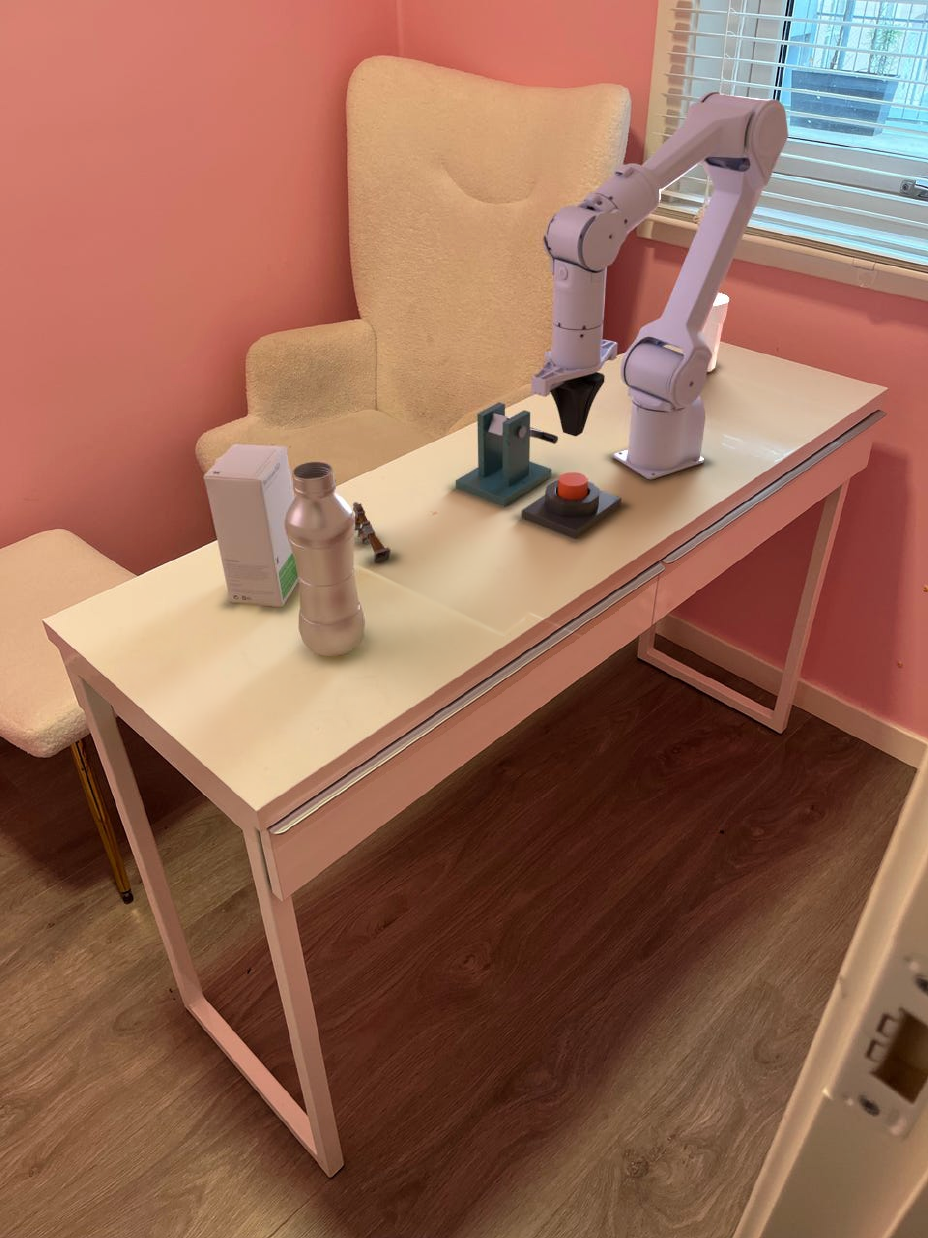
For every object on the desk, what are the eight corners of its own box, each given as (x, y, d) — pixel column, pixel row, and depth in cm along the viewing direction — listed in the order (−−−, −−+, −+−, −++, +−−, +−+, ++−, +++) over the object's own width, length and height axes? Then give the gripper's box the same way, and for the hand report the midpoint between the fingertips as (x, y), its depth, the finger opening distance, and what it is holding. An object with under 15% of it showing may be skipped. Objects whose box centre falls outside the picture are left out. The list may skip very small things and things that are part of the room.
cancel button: (568, 483, 121) (569, 469, 119) (593, 492, 119) (593, 477, 118) (551, 495, 119) (552, 480, 117) (576, 504, 117) (577, 489, 115)
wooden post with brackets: (359, 519, 118) (362, 496, 114) (386, 570, 115) (390, 548, 111) (345, 523, 117) (348, 500, 114) (372, 575, 114) (376, 552, 110)
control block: (568, 487, 125) (569, 466, 124) (621, 506, 121) (622, 484, 119) (521, 518, 119) (521, 497, 117) (575, 539, 115) (576, 517, 113)
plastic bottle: (303, 628, 102) (277, 456, 90) (367, 623, 103) (349, 452, 91) (300, 666, 97) (271, 490, 85) (367, 662, 97) (349, 485, 85)
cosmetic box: (282, 610, 105) (261, 482, 96) (225, 604, 106) (198, 477, 97) (307, 567, 112) (290, 444, 102) (253, 562, 113) (231, 440, 103)
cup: (677, 373, 154) (685, 304, 148) (677, 357, 160) (684, 290, 153) (720, 375, 153) (730, 305, 147) (718, 359, 159) (727, 291, 152)
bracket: (503, 460, 132) (503, 391, 126) (551, 476, 128) (553, 407, 122) (455, 488, 126) (453, 418, 120) (504, 507, 122) (504, 435, 116)
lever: (524, 439, 131) (530, 421, 131) (555, 449, 129) (560, 431, 128) (479, 428, 122) (484, 410, 122) (510, 439, 120) (516, 420, 119)
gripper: (585, 297, 116) (579, 404, 124) (510, 331, 107) (509, 444, 115) (635, 309, 112) (626, 418, 120) (562, 346, 103) (557, 461, 111)
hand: (572, 432), depth 117 cm, fingers closed
